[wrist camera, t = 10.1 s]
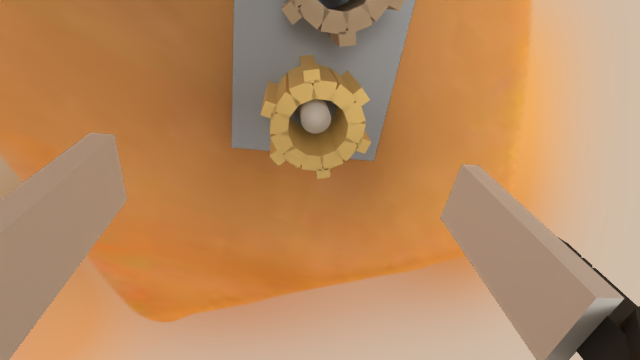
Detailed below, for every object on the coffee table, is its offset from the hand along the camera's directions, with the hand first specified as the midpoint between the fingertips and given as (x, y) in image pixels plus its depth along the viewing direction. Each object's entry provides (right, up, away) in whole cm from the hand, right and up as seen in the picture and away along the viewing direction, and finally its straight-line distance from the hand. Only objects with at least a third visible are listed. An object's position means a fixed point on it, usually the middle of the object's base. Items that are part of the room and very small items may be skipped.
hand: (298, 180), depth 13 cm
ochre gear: (0, +7, +16) cm, 18 cm away
